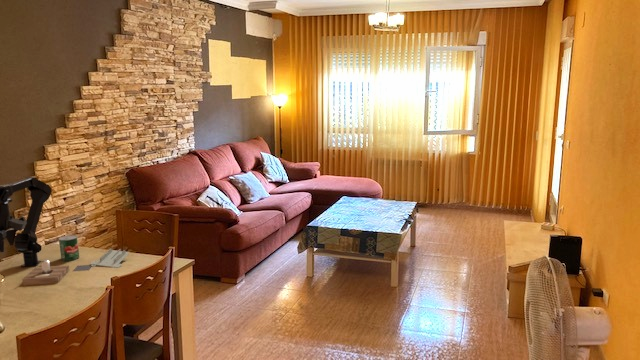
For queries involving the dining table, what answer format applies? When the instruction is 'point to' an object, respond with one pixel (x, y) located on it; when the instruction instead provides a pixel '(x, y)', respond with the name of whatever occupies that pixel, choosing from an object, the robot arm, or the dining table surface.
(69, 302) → the dining table surface
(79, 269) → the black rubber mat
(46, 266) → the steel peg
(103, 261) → the metal bracket
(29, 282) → the walnut hole plate
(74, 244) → the canned tomato
